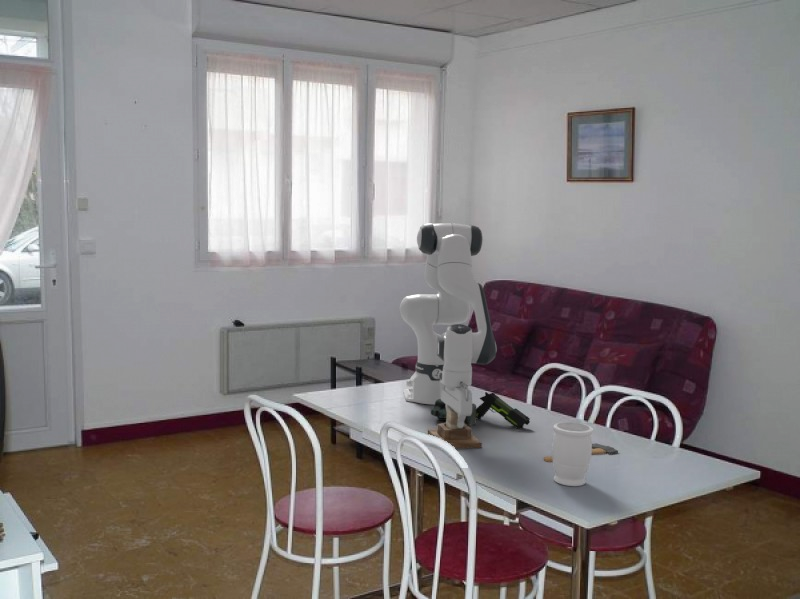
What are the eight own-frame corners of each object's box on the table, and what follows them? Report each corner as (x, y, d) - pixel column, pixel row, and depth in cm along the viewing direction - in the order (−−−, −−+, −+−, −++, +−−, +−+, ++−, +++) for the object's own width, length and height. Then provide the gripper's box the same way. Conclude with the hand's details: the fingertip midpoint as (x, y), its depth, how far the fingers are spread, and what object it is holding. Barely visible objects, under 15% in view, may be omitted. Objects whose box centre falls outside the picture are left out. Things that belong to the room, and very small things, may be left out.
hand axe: (596, 440, 260) (620, 449, 252) (595, 445, 261) (619, 454, 252) (529, 451, 247) (552, 461, 238) (529, 457, 247) (552, 466, 238)
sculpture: (428, 412, 275) (473, 424, 272) (434, 391, 277) (479, 402, 274) (431, 421, 286) (474, 432, 283) (436, 400, 288) (479, 411, 286)
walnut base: (427, 434, 263) (428, 420, 263) (463, 432, 267) (464, 418, 266) (443, 449, 248) (444, 434, 248) (481, 447, 251) (482, 433, 251)
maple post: (458, 433, 260) (459, 405, 259) (462, 437, 256) (464, 408, 255) (445, 434, 259) (446, 405, 258) (449, 438, 255) (451, 409, 254)
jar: (594, 488, 219) (598, 432, 217) (555, 488, 218) (559, 432, 217) (582, 475, 230) (586, 421, 228) (545, 474, 229) (548, 421, 227)
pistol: (530, 429, 275) (532, 399, 273) (526, 431, 272) (528, 401, 271) (475, 417, 287) (477, 388, 285) (470, 419, 284) (472, 390, 283)
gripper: (478, 386, 246) (476, 432, 248) (456, 371, 265) (454, 414, 267) (458, 386, 244) (455, 432, 246) (437, 371, 264) (435, 414, 266)
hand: (454, 422), depth 257 cm, fingers open, 8 cm apart
